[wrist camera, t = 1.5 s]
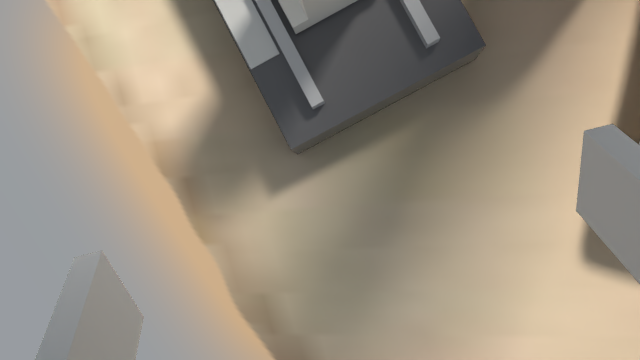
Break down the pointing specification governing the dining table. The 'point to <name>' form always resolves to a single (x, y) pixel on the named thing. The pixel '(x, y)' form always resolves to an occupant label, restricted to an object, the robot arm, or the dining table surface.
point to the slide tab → (310, 11)
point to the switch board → (347, 58)
